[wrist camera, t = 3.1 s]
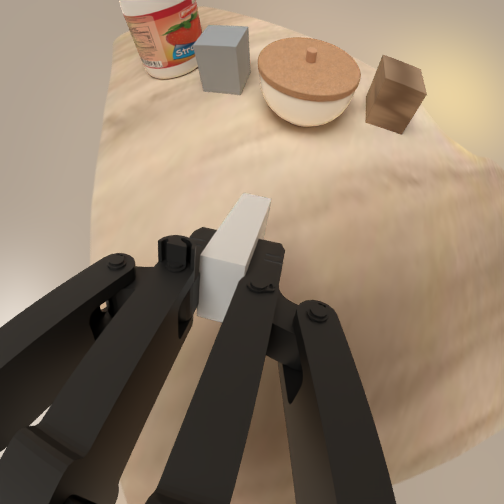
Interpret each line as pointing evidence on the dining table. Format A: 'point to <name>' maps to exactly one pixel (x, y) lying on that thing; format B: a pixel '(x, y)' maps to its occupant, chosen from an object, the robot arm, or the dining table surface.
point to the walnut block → (394, 95)
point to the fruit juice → (164, 34)
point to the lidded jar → (307, 80)
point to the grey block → (223, 58)
